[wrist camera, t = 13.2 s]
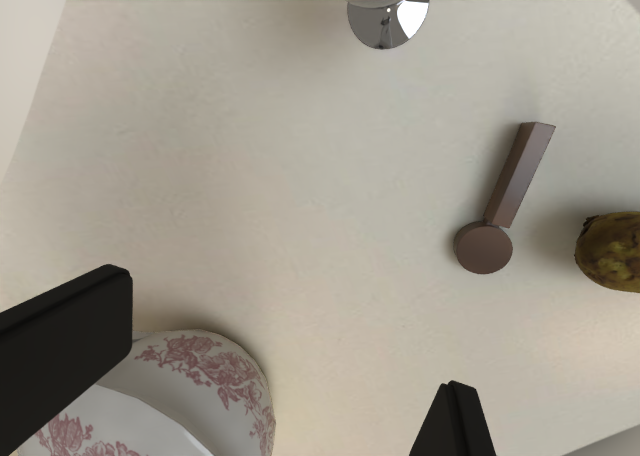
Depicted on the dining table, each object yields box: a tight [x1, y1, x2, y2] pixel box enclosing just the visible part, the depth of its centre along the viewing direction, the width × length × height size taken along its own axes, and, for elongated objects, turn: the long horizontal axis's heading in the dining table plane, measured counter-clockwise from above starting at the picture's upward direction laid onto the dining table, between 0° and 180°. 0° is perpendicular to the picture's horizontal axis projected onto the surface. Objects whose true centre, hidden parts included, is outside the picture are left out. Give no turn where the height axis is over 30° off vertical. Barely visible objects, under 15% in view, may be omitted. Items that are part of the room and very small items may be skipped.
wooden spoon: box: [454, 122, 556, 274], centre depth 29 cm, size 14×5×3 cm, turn 168°
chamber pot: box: [17, 329, 276, 456], centre depth 37 cm, size 28×28×21 cm
